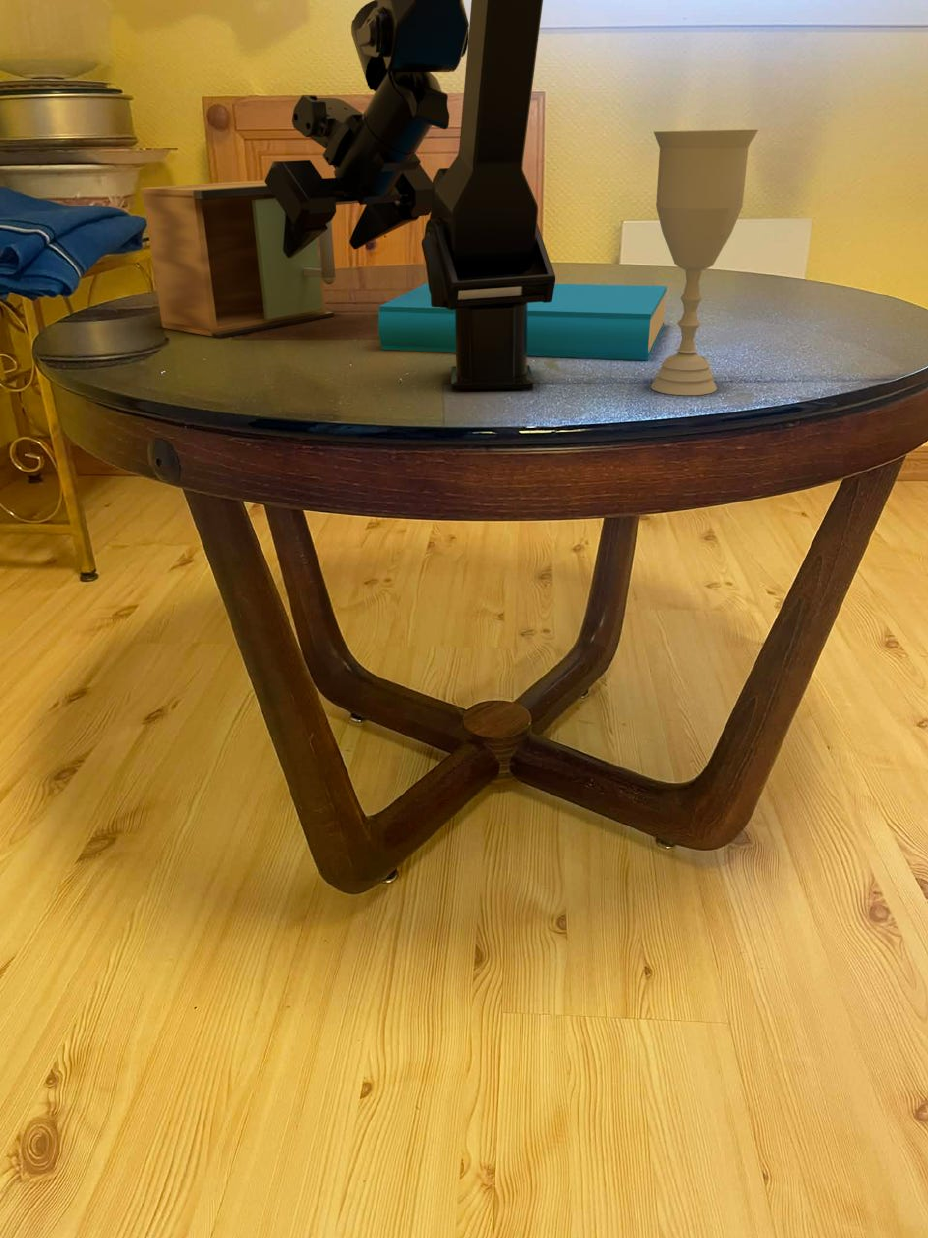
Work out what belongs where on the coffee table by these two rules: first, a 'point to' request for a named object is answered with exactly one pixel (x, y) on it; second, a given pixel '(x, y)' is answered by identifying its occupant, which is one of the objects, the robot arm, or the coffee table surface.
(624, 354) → the book
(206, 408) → the coffee table surface
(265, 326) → the cupboard
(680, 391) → the chalice
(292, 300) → the door
